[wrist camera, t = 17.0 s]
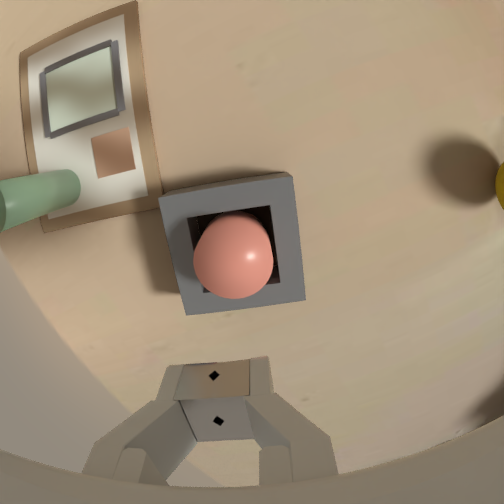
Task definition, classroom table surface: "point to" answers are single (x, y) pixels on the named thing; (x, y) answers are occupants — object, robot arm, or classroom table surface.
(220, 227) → the button
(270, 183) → the button housing
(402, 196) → the classroom table surface
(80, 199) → the framed picture
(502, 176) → the lemon
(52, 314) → the classroom table surface
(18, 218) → the marker
